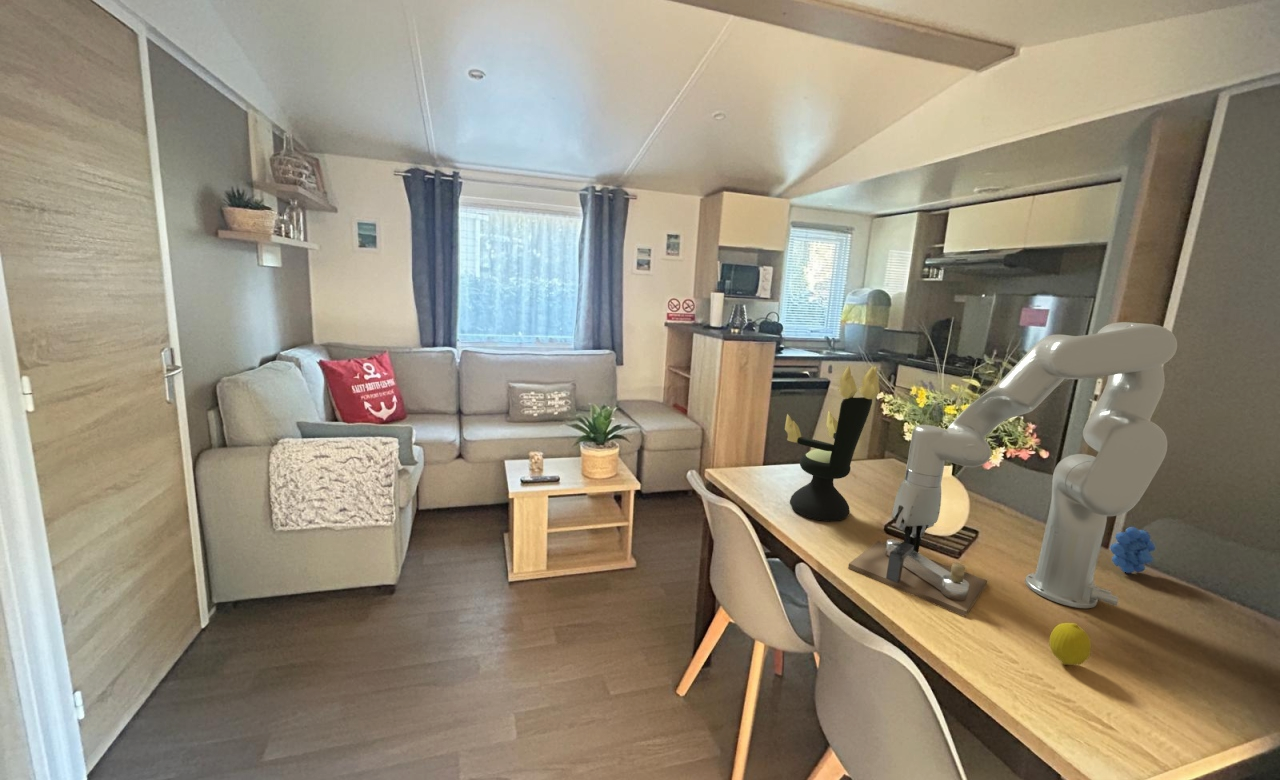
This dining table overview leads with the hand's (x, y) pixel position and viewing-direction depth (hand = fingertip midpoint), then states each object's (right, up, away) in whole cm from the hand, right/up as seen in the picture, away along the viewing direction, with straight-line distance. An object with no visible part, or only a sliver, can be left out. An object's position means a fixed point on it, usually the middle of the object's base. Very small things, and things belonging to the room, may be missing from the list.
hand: (910, 550), depth 125 cm
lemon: (+10, -10, -33) cm, 36 cm away
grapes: (+54, -6, +1) cm, 54 cm away
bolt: (-1, -3, -8) cm, 8 cm away
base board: (-2, -4, -6) cm, 8 cm away
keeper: (-7, -3, -8) cm, 11 cm away
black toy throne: (-11, +2, +27) cm, 29 cm away
